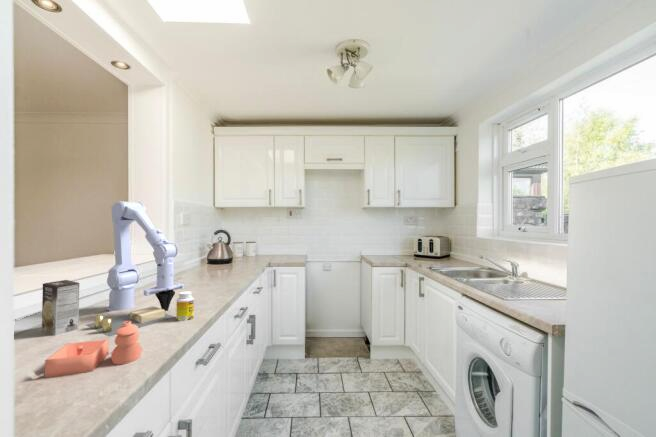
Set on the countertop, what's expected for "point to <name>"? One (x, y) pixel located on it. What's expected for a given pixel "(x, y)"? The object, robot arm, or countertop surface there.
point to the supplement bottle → (185, 306)
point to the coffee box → (60, 307)
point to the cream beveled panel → (147, 314)
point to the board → (120, 320)
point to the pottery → (94, 353)
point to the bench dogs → (103, 323)
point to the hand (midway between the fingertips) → (164, 310)
